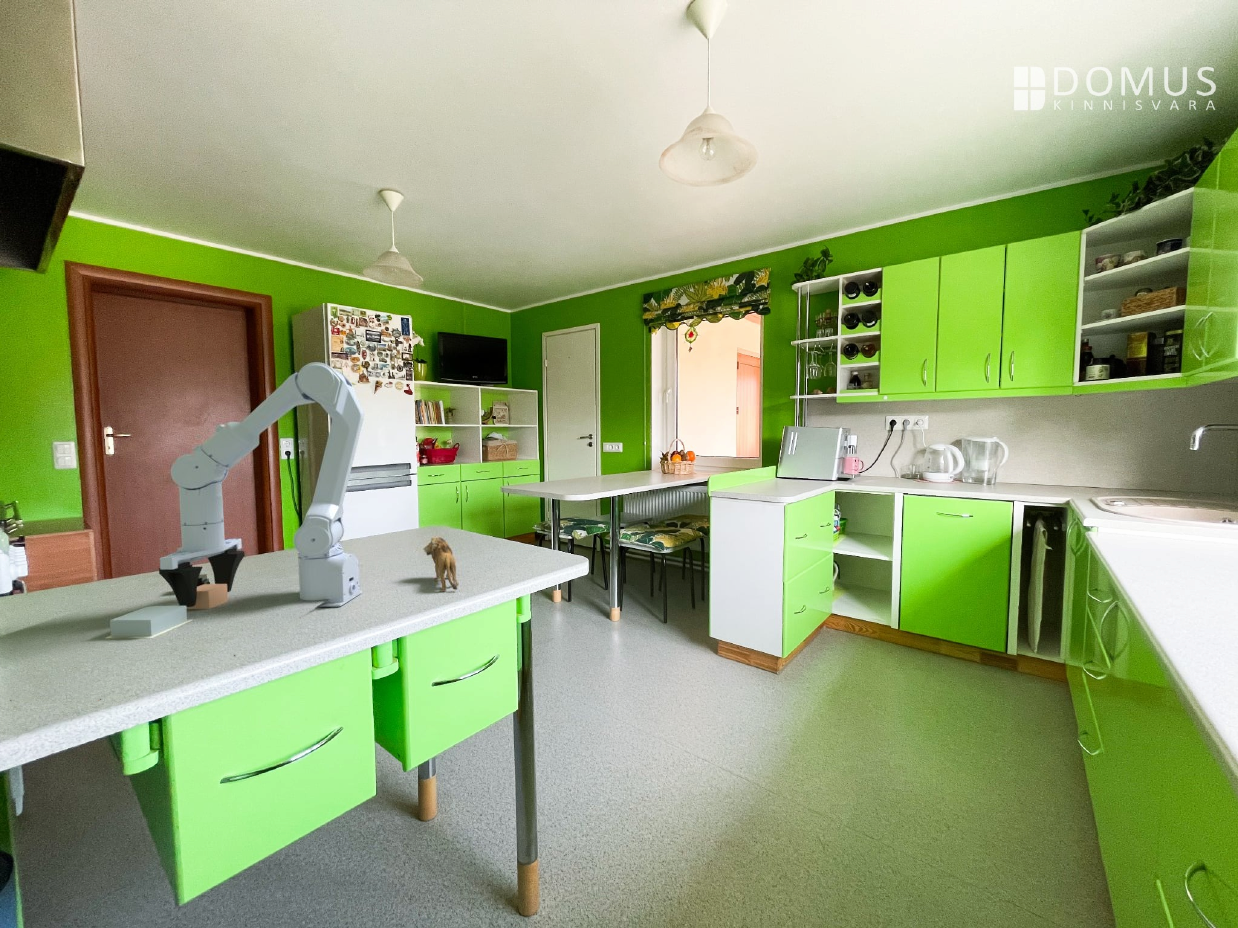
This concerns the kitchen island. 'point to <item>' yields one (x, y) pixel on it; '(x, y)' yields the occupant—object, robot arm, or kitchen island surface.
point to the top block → (210, 596)
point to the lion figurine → (442, 561)
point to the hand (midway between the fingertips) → (206, 598)
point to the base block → (148, 621)
